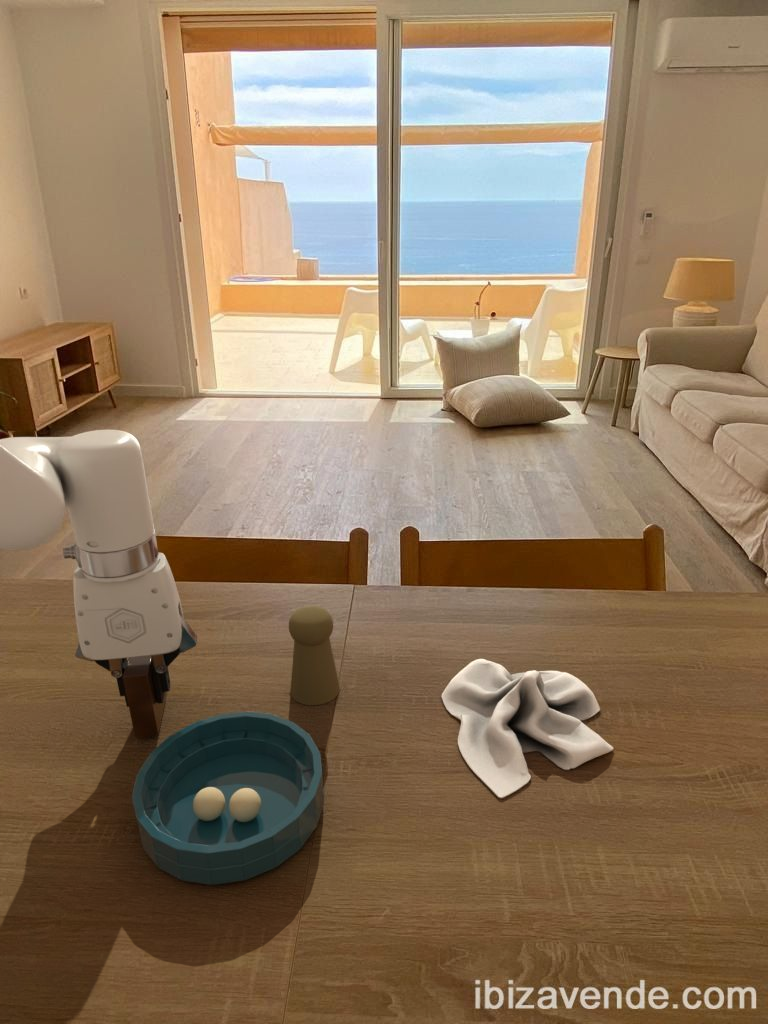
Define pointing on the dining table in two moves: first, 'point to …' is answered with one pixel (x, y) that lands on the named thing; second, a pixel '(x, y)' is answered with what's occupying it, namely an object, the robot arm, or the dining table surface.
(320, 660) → the olive chess pawn
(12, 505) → the robot arm
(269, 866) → the bowl
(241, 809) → the dough ball
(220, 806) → the dough ball
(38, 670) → the dining table surface
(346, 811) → the dining table surface
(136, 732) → the brown brick
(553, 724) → the cloth
